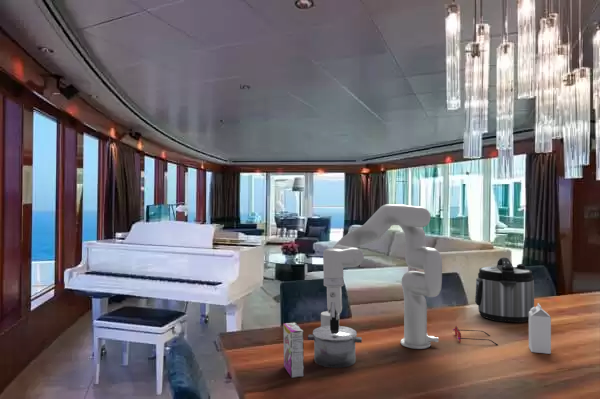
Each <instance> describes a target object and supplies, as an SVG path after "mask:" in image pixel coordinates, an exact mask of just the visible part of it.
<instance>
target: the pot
mask: <svg viewBox="0 0 600 399" xmlns="http://www.w3.org/2000/svg"><path fill="white" fill-rule="evenodd" d="M307 335H308V336H307V341H314V343H313V348H314V351H313V356H314V358H313V359H314V362H315V364H317V365H319V366H322V367H325V368H329V369H330V368H331V369H332V368H333V369H334V368H335V369H339V368H340V369H341V368H342V369H343V368H347V367H350V366H353V365H354V364H355V363H356V343H362V342H363V339H362V337H363V336H356V337H355V338H353V339H350V340H345V341H328V340H322V339H319V338H316V337H315V336H314V335H313V334H307Z"/></svg>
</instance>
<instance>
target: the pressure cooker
mask: <svg viewBox="0 0 600 399" xmlns="http://www.w3.org/2000/svg"><path fill="white" fill-rule="evenodd" d="M496 264H497V265H495V266H483V267H480V268H479V271H478V272H477V278H476V280H475V296H474V297H475V298H474V300H475V304H476V306H478V307H477V308H478V312H479V314H480V316H481V317H484V318H485V319H489V320H491V321H497V322H506V323H507V322H512V323H525V322H526V321H527V322H529V311H530V309H531V308H533V307H535V279H534V278H535V277H534V275H533V271H532V270H530V269H527V268H526V266H525V264H523V263H518V264H516V267H514V266H513V264H512V262H511V261H510V259H509V258H507V257H500V258H499V260H497V263H496Z"/></svg>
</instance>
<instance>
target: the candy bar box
mask: <svg viewBox="0 0 600 399" xmlns="http://www.w3.org/2000/svg"><path fill="white" fill-rule="evenodd" d="M282 327H283V367H284V369H285V370H286V372H287V373H288V374H289V377H290V378H291V379H294V378H300V377H304V376H305V371H304V370H305V369H304V368H305V366H304V362H305V361H304V360H305V359H304V353H305V352H304V351H305V350H304V349H305V348H304V347H305V346H304V330H303V329H302V328H301V327H300V326H299V325H298V324H297V323H296V322H286V323H283V326H282Z"/></svg>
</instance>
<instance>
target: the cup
mask: <svg viewBox="0 0 600 399" xmlns="http://www.w3.org/2000/svg"><path fill="white" fill-rule="evenodd" d="M338 319H339V320H340V314H339V313H338ZM323 326H330V313H328V310H326V311H322V312H321V313H320V327H323Z"/></svg>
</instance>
